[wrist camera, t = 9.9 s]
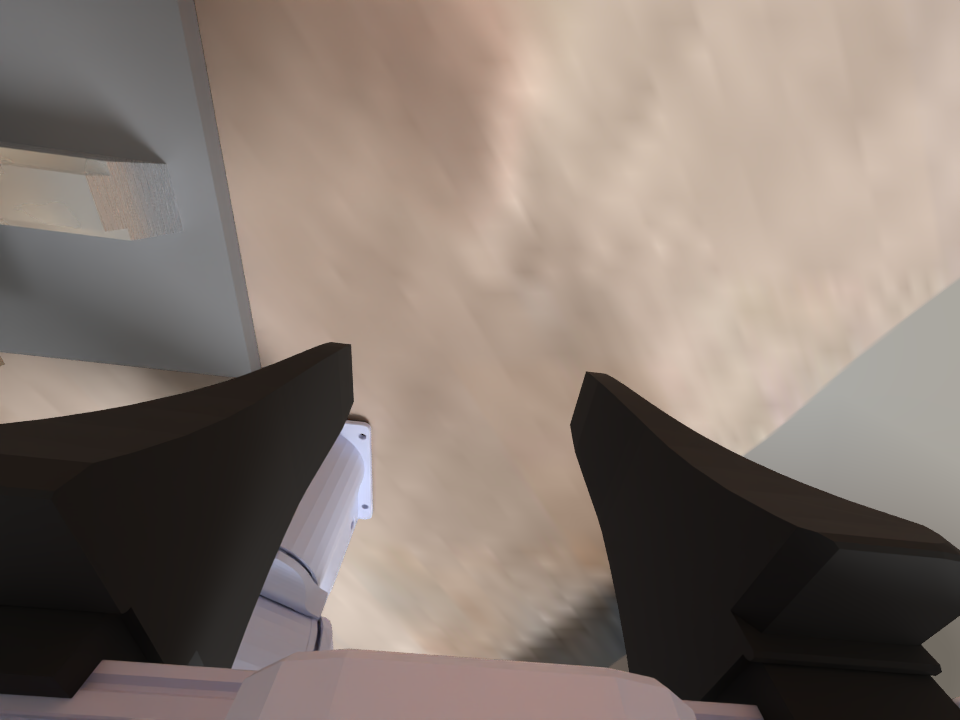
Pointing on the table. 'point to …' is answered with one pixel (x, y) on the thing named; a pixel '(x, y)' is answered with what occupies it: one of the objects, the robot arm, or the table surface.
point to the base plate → (131, 135)
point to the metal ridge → (85, 193)
